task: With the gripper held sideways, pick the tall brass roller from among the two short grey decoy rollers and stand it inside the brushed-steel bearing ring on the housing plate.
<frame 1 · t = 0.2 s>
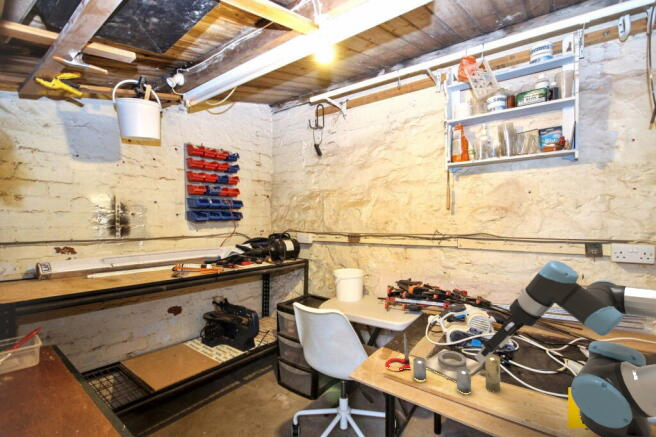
hand: (488, 352, 103), 16 cm above the workbench, tool tilted 30°, fingers open, 13 cm apart
tow hook: (397, 366, 126), on the workbench
brass roller: (492, 388, 109), on the workbench
bearing housing: (452, 366, 123), on the workbench
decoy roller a: (464, 390, 109), on the workbench
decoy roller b: (420, 378, 117), on the workbench
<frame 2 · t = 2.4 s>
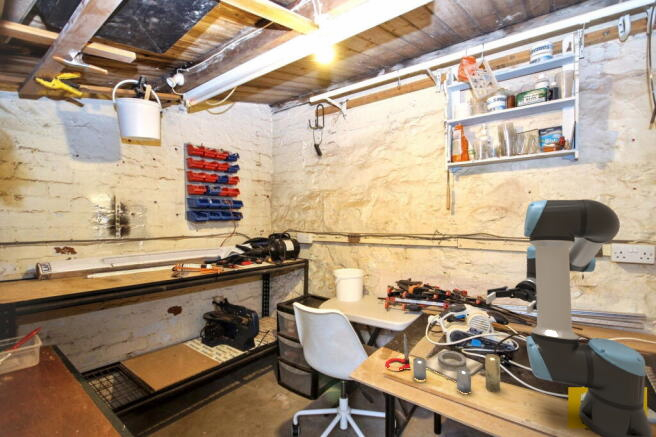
hand: (506, 304, 114), 26 cm above the workbench, tool horizontal, fingers open, 13 cm apart
nothing on the workbench moved.
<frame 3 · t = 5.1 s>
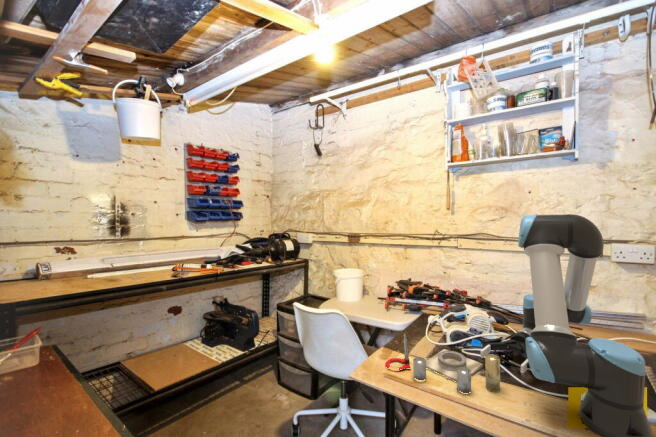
hand: (500, 361, 113), 6 cm above the workbench, tool horizontal, fingers open, 13 cm apart
nothing on the workbench moved.
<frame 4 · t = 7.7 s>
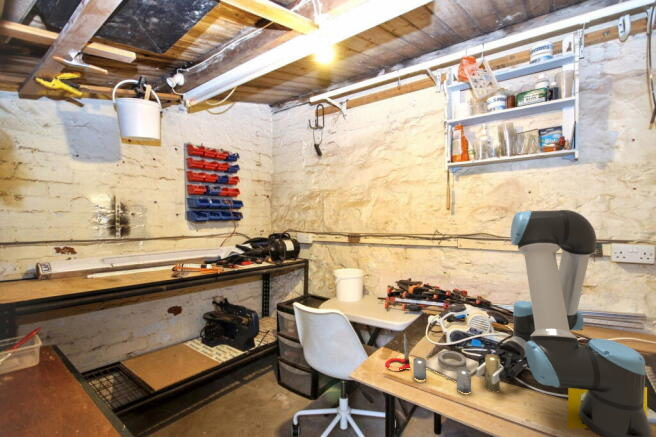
hand: (485, 376, 105), 7 cm above the workbench, tool horizontal, fingers closed on brass roller, 4 cm apart
brass roller: (492, 387, 109), on the workbench, touching gripper
everything else where it was.
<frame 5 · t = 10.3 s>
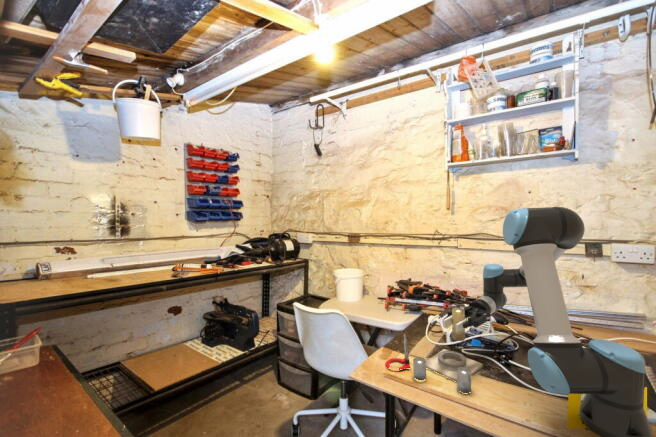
hand: (450, 325, 116), 19 cm above the workbench, tool horizontal, fingers closed on brass roller, 4 cm apart
brass roller: (458, 337, 120), point 12 cm above the workbench, touching gripper
everything else where it was.
when the fingers open (9 cm above the workbench, at t = 12.9 s): brass roller drops 1 cm, resting on bearing housing.
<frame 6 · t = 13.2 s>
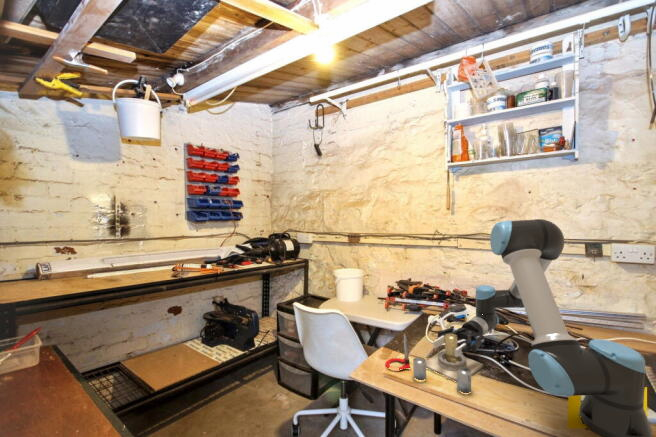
hand: (444, 348, 119), 9 cm above the workbench, tool horizontal, fingers open, 8 cm apart
brass roller: (452, 363, 123), point 1 cm above the workbench, touching bearing housing
everything else where it was.
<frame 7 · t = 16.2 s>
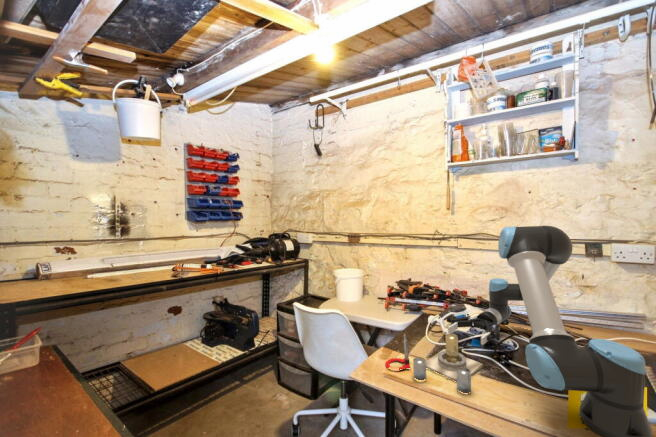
hand: (464, 335, 128), 9 cm above the workbench, tool horizontal, fingers open, 13 cm apart
nothing on the workbench moved.
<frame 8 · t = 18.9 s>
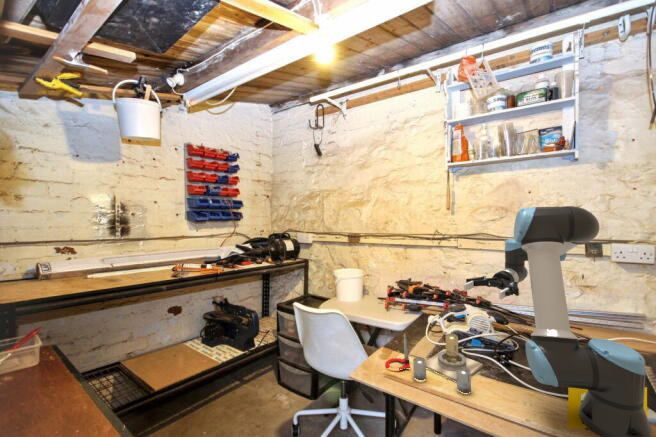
hand: (481, 291, 123), 28 cm above the workbench, tool horizontal, fingers open, 13 cm apart
nothing on the workbench moved.
at the end: brass roller 0.1 cm off-centre on the bearing housing, point 1.2 cm above the bearing housing's base; brass roller tilted 0°; the gripper is holding nothing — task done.
